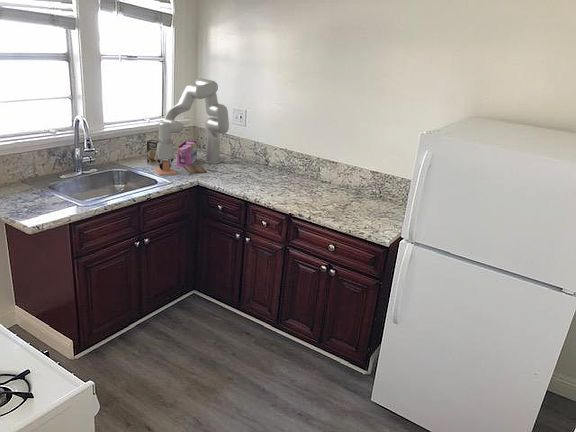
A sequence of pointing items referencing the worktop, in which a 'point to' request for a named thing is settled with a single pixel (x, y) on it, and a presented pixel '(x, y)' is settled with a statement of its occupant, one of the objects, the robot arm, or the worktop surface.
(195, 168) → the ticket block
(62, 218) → the worktop surface
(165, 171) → the stub
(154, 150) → the coffee box
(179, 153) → the gum box
